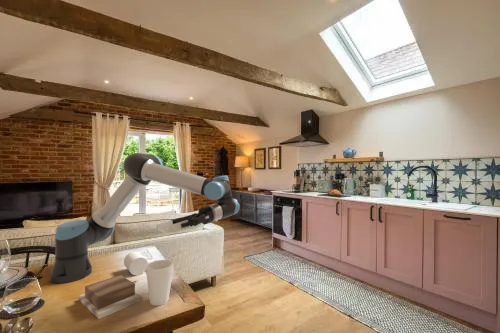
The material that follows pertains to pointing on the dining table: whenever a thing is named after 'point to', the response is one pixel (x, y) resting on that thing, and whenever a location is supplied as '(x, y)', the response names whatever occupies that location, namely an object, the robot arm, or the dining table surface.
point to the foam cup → (159, 281)
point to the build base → (111, 307)
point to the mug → (136, 263)
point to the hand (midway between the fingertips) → (164, 228)
